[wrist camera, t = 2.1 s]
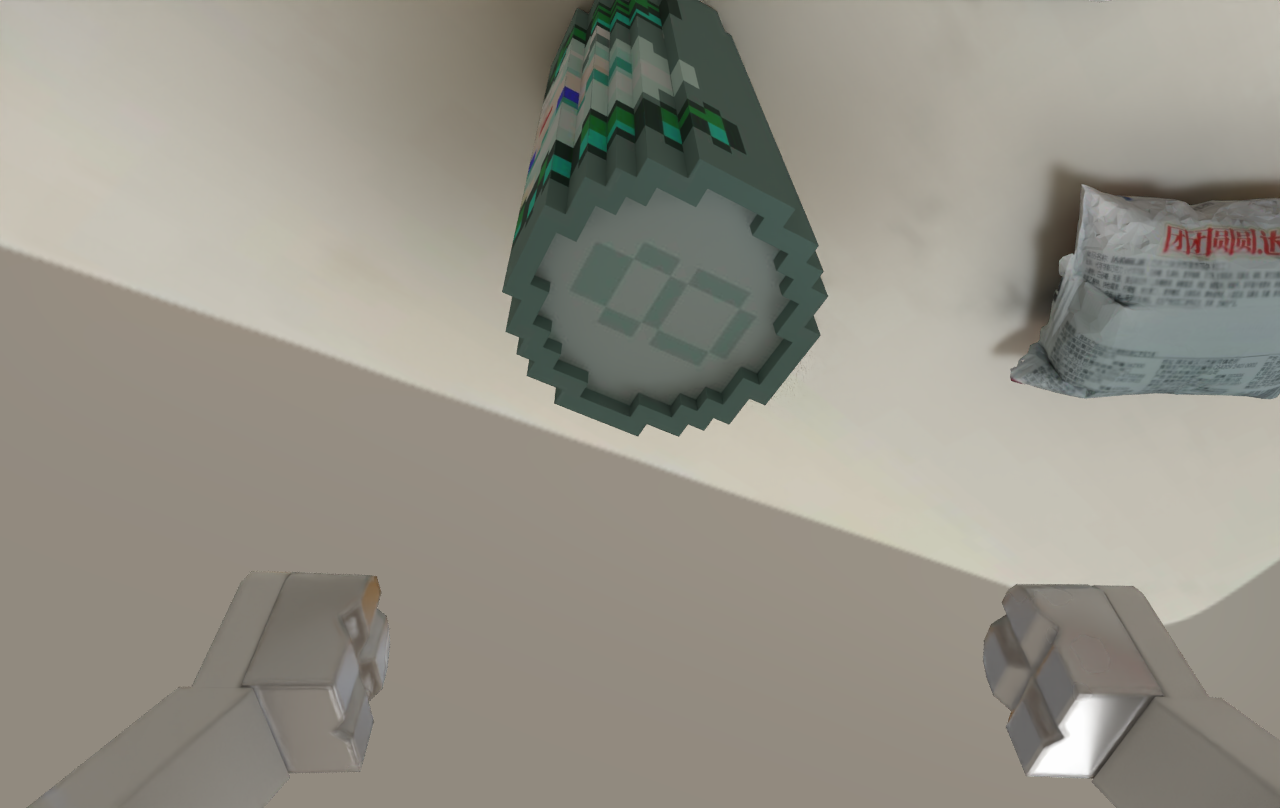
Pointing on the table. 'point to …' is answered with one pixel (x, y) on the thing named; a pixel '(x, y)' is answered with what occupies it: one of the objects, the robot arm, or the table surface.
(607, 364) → the can
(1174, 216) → the packaged food
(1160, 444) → the table surface
